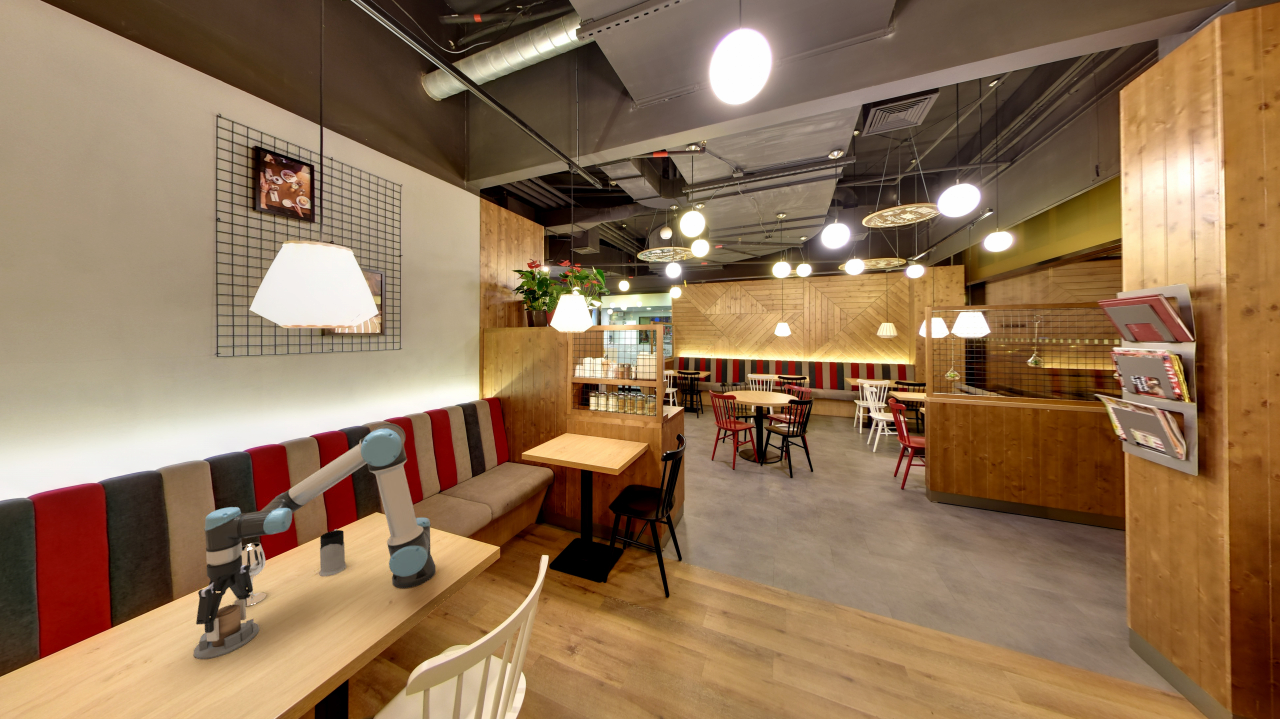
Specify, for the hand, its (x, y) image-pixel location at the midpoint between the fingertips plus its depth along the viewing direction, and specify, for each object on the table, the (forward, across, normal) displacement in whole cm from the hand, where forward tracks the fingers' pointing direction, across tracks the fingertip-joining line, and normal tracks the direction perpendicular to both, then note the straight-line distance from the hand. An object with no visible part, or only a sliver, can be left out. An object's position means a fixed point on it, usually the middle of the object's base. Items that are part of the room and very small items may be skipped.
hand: (227, 629), depth 120 cm
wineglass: (+4, -20, -10) cm, 23 cm away
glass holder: (+4, -40, +5) cm, 41 cm away
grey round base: (+4, 0, 0) cm, 4 cm away
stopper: (+3, 0, 0) cm, 3 cm away
